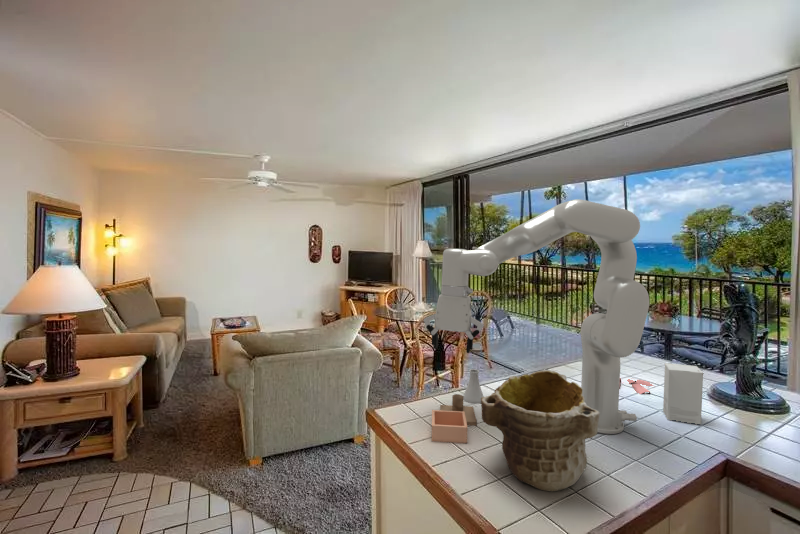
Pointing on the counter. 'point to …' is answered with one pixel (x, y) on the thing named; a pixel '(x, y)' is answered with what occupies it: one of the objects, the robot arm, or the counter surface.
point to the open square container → (449, 426)
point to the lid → (461, 409)
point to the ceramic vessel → (542, 428)
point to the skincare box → (683, 393)
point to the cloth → (638, 387)
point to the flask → (473, 388)
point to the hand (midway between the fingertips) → (451, 349)
